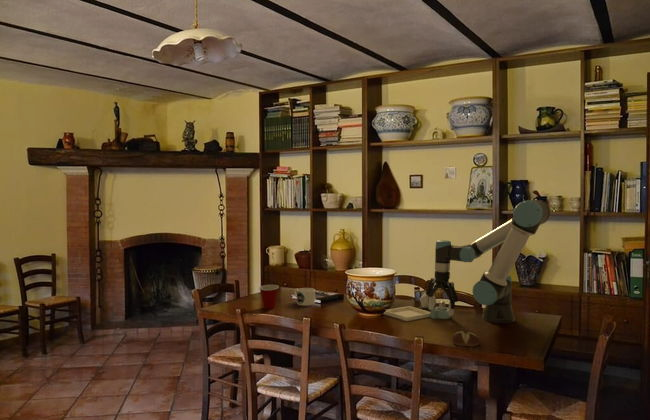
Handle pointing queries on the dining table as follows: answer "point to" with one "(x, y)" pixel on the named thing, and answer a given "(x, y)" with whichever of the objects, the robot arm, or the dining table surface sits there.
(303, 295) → the mug
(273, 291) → the plastic cup
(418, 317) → the tray
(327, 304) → the dining table surface
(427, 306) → the die
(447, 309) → the grey-green rounded block
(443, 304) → the grey pedestal column
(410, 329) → the dining table surface
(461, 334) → the bread
